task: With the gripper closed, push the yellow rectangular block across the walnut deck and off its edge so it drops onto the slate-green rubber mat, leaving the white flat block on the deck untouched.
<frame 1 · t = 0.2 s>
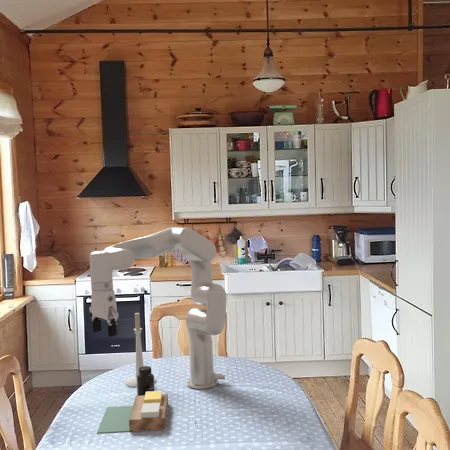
hand: (104, 333, 208), 31 cm above the table, tool pointing down, fingers open, 9 cm apart
mat: (119, 418, 209), on the table
yellow rectangular block: (153, 400, 215), point 4 cm above the table, touching deck
white flat block: (150, 413, 203), point 4 cm above the table, touching deck
deck: (150, 417, 210), on the table
supplement bottle: (146, 398, 228), on the table
candlestick: (140, 382, 246), on the table
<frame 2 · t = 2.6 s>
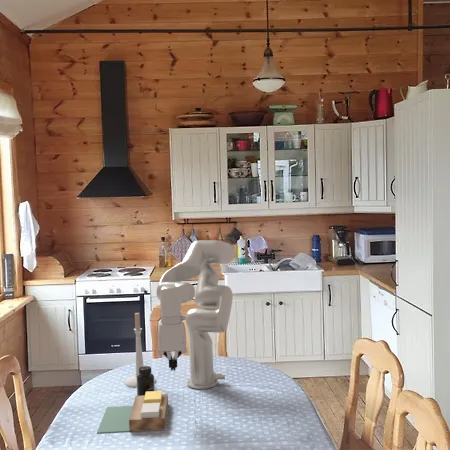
hand: (173, 369, 214), 15 cm above the table, tool pointing down, fingers closed
nothing on the table moved.
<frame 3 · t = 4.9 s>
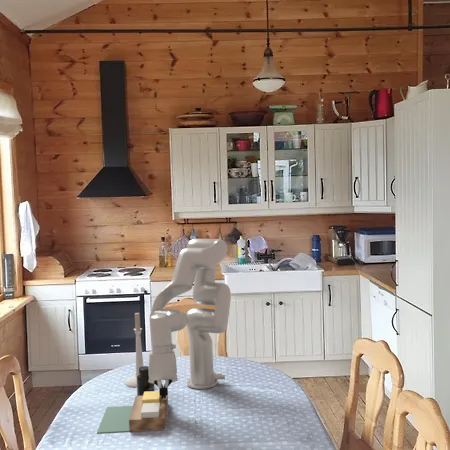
hand: (163, 397, 215), 5 cm above the table, tool pointing down, fingers closed
yellow rectangular block: (151, 400, 215), point 4 cm above the table, touching gripper
everything else where it was.
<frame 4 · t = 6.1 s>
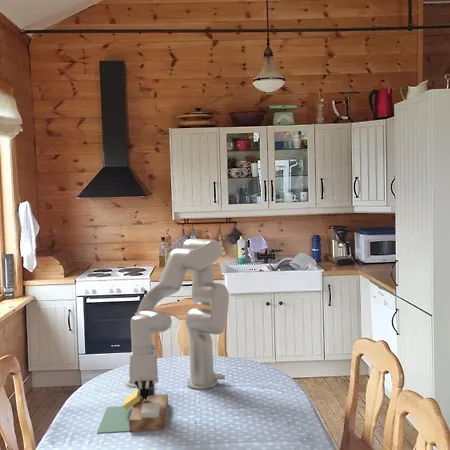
hand: (144, 398, 214), 5 cm above the table, tool pointing down, fingers closed
yellow rectangular block: (134, 401, 215), point 4 cm above the table, tilted 33°, touching deck
everything else where it was.
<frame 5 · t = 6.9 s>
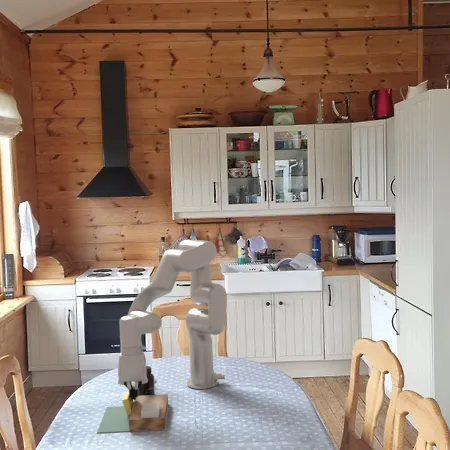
hand: (133, 398, 214), 5 cm above the table, tool pointing down, fingers closed
yellow rectangular block: (131, 402, 215), point 4 cm above the table, tilted 105°, touching gripper, mat
everything else where it was.
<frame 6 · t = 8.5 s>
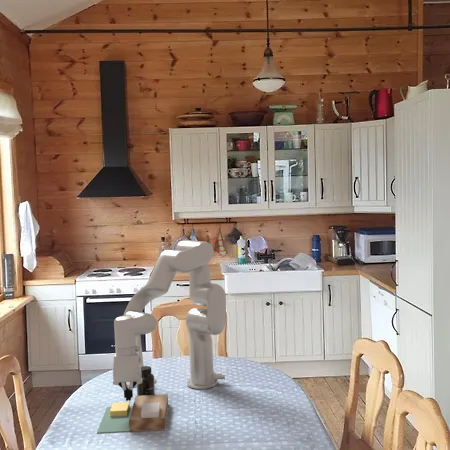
hand: (128, 399, 214), 5 cm above the table, tool pointing down, fingers closed
yellow rectangular block: (119, 406, 215), point 2 cm above the table, tilted 180°, touching mat
everything else where it was.
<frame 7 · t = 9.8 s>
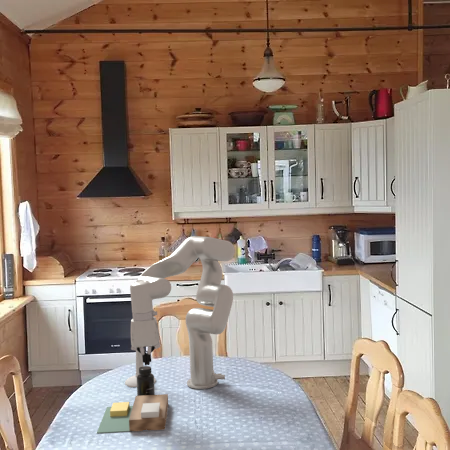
hand: (147, 363, 215), 17 cm above the table, tool pointing down, fingers closed
nothing on the table moved.
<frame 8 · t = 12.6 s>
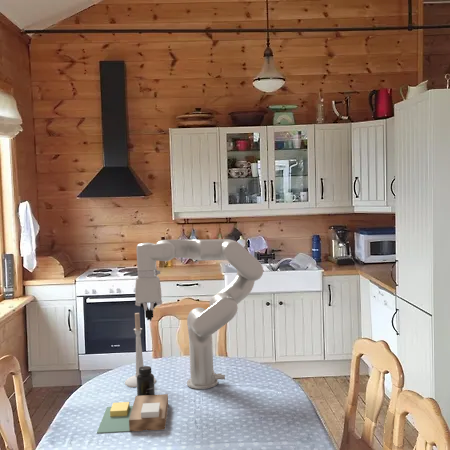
hand: (149, 319, 234), 29 cm above the table, tool pointing down, fingers closed
nothing on the table moved.
at the end: yellow rectangular block inside the target area on the mat (5.8 cm from its centre), point 2.3 cm above the mat's base; white flat block moved 0.0 cm from its start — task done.
